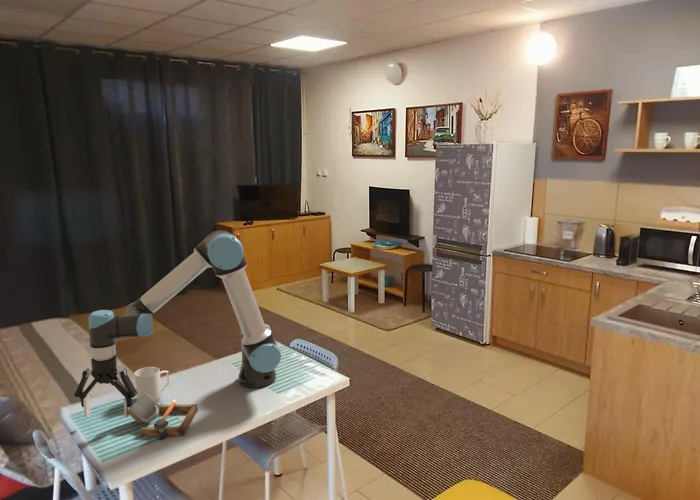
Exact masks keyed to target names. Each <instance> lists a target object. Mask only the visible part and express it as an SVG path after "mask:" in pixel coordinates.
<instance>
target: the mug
mask: <svg viewBox="0 0 700 500" xmlns="http://www.w3.org/2000/svg"><path fill="white" fill-rule="evenodd" d="M169 372H170V371H169V370H161V371H160V368H159V367H158V366H157V367H156V366H147V367H142V368H140V369H137V370H136V371H134V374H133V375H134V384H135V386H134V387H135V389H136V391H137V394H136V396H135V397H136V401H137V400H138V399H139V398H140V397H141V396H142V394H143V393H147V394H148V395H149V396H150V397H152V398H153V399H154V400H155V401H156V402H157V401H158V400H159V399H160V398H161V397H162V394H163V391H164V390H166V388H167V387H168V386H169V384H170V382H169V381H170V380H169V379H170V377H169ZM165 373H166V383H165V385H164V386H162V382H161V375H162V374H165Z"/></svg>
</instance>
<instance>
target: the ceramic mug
mask: <svg viewBox="0 0 700 500" xmlns="http://www.w3.org/2000/svg"><path fill="white" fill-rule="evenodd" d="M159 405H160V404H159V403H158V402H157V401H155V400H154V399H153V398H152V397H150V396H149V395H148V394H147V393H143V394H142V396H141V397H140V398H139V399H138V400H137V399H136V401H135V402H133V403H132V406H131V407H130V408H129V410H128V413H129V416H130V417H131V418H132V419H133V420H134V421H135V422H136V423H138V424H139V425H143V424H144V423H147V424H149V423H151V422H153V421H154V420H156V419H157V417H158V416H159V414H160V413H159V409H160V406H159Z"/></svg>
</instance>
